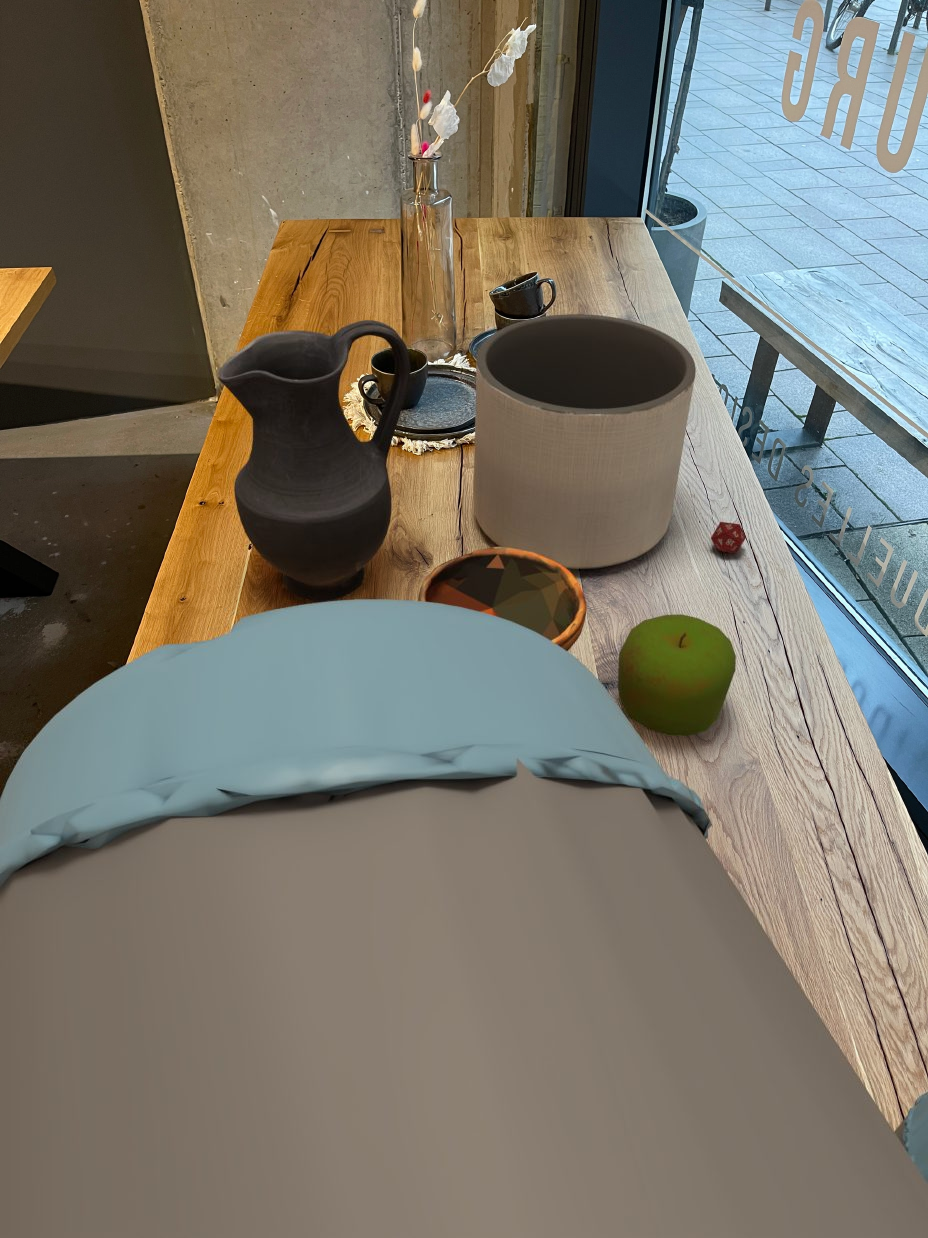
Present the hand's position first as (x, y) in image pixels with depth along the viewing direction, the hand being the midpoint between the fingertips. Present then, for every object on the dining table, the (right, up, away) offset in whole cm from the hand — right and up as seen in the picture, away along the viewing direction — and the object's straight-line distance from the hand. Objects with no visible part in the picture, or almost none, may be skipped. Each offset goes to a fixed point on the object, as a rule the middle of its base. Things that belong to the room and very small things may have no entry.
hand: (443, 860), depth 63 cm
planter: (+15, +30, +56) cm, 65 cm away
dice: (+34, +25, +51) cm, 66 cm away
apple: (+22, +7, +31) cm, 39 cm away
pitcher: (-14, +22, +48) cm, 54 cm away
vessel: (+5, +4, +27) cm, 28 cm away
